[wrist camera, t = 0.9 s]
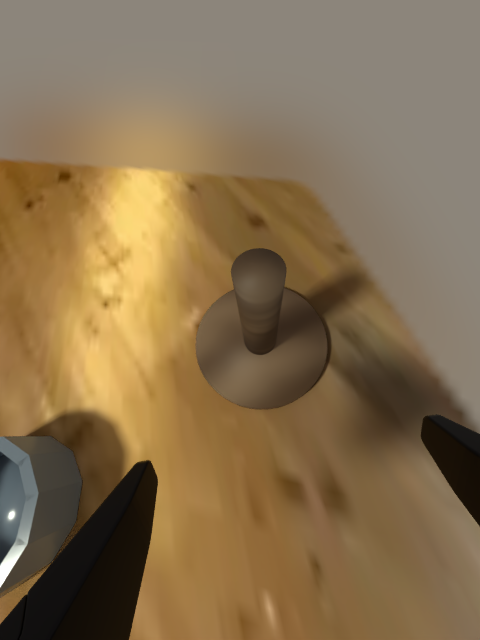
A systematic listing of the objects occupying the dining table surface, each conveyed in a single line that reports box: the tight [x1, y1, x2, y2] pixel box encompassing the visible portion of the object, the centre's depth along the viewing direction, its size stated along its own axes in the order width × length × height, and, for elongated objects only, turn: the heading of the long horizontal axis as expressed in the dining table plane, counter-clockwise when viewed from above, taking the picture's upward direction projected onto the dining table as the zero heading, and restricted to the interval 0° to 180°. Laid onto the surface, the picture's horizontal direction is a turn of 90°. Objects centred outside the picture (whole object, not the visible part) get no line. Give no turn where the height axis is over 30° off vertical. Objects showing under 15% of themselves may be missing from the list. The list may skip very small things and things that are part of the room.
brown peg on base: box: [196, 248, 327, 409], centre depth 19 cm, size 12×12×12 cm
